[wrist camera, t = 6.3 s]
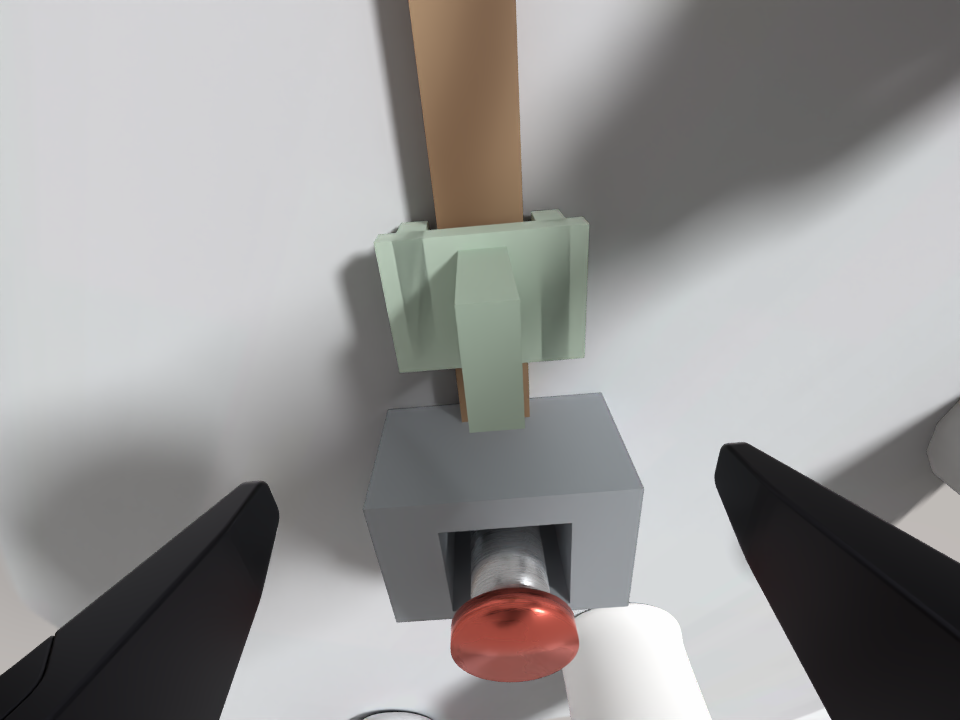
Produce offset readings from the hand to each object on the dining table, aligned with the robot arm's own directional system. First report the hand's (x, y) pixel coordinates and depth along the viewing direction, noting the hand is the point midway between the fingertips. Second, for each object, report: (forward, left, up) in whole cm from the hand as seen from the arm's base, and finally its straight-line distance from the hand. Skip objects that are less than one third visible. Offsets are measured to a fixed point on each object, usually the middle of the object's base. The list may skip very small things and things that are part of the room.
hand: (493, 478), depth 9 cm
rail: (0, -3, -11) cm, 11 cm away
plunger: (0, +10, -8) cm, 13 cm away
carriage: (0, 0, -11) cm, 11 cm away
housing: (0, +9, -11) cm, 14 cm away
